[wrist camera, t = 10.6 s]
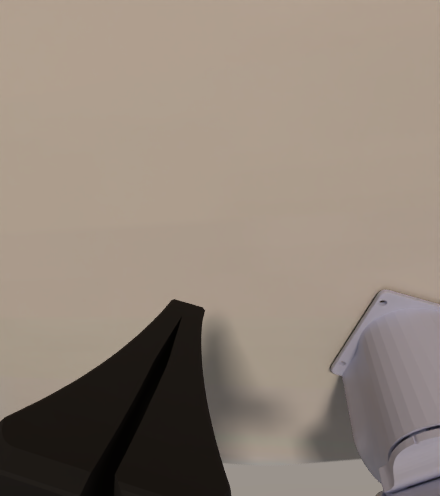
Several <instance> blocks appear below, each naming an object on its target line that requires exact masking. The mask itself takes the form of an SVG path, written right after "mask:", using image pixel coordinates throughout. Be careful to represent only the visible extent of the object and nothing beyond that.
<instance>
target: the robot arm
mask: <svg viewBox="0 0 440 496" xmlns="http://www.w3.org/2000/svg"><path fill="white" fill-rule="evenodd" d="M382 300H385V301H384V302H380V301H382ZM204 312H205V310H204V309H203V307H199V306H196V305H192V304H189V303H185V302H182V301H178V300H175V299H174V300H171V302H170V303H169V304H168V305H167V306H166V308H165V309H164V310H163V311H162V312H161V313H160V314H159V315H158V316H157V317H156V318H155V319H154V320H153V321H152V322H151V323H150V324H149V325H148V326H147V327H146V328H145V329H144V330H143V331H142V332H141V333H140V334H139V335H137V336H136V337H135V338H134V339H133V340H132V341H130V342H129V343H128V344H127V345H126V346H124V347H123V348H122V349H121V350H119V351H118V352H117V353H116V354H114V355H113V356H112V357H110V358H109V359H107V360H106V361H105V362H103V363H102V364H100V365H99V366H97V367H96V368H94V369H93V370H91V371H90V372H88V373H87V374H85V375H84V376H82V377H81V378H79V379H77V380H76V381H74V382H72V383H71V384H69V385H67V386H65V387H63V388H62V389H60V390H58V391H56V392H55V393H53V394H51V395H49V396H47V397H46V398H44V399H42V400H40V401H38V402H36V403H34V404H32V405H30V406H27V407H25V408H23V409H21V410H19V411H17V412H15V413H13V414H11V415H9V416H7V417H5V418H4V419H3V420H2V421H0V496H231V490H230V485H229V482H228V480H227V477H226V473H225V471H224V467H223V464H222V461H221V457H220V454H219V450H218V447H217V443H216V440H215V435H214V431H213V427H212V423H211V419H210V414H209V409H208V404H207V399H206V393H205V386H204V378H203V369H202V355H201V330H202V320H203V316H204ZM331 371H332V372H333V373H334V374H337V375H340V376H342V378H343V384H344V389H345V395H346V400H347V405H348V411H349V416H350V422H351V427H352V433H353V438H354V442H355V445H356V448H357V451H358V453H359V455H360V457H361V459H362V461H363V462H364V464H365V465H366V467H367V468H368V470H369V471H370V472H371V474H372V475H373V476H374V477H375V478H376V479H377V480H378V481H379V482H380V483H381V484H382V486H383V491H381V492H379V493H378V494H377V495H376V496H440V304H438V303H434V302H430V301H427V300H423V299H420V298H416V297H413V296H409V295H405V294H402V293H398V292H395V291H391V290H386V289H385V290H382V291H380V292H379V293H378V294H377V296H376V297H375V299H374V301H373V302H372V304H371V305H370V307H369V308H368V310H367V311H366V313H365V315H364V316H363V318H362V319H361V321H360V322H359V324H358V325H357V327H356V329H355V330H354V332H353V333H352V335H351V336H350V338H349V339H348V341H347V342H346V344H345V346H344V347H343V349H342V350H341V352H340V353H339V355H338V356H337V358H336V360H335V361H334V363H333V364H332V366H331Z"/></svg>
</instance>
